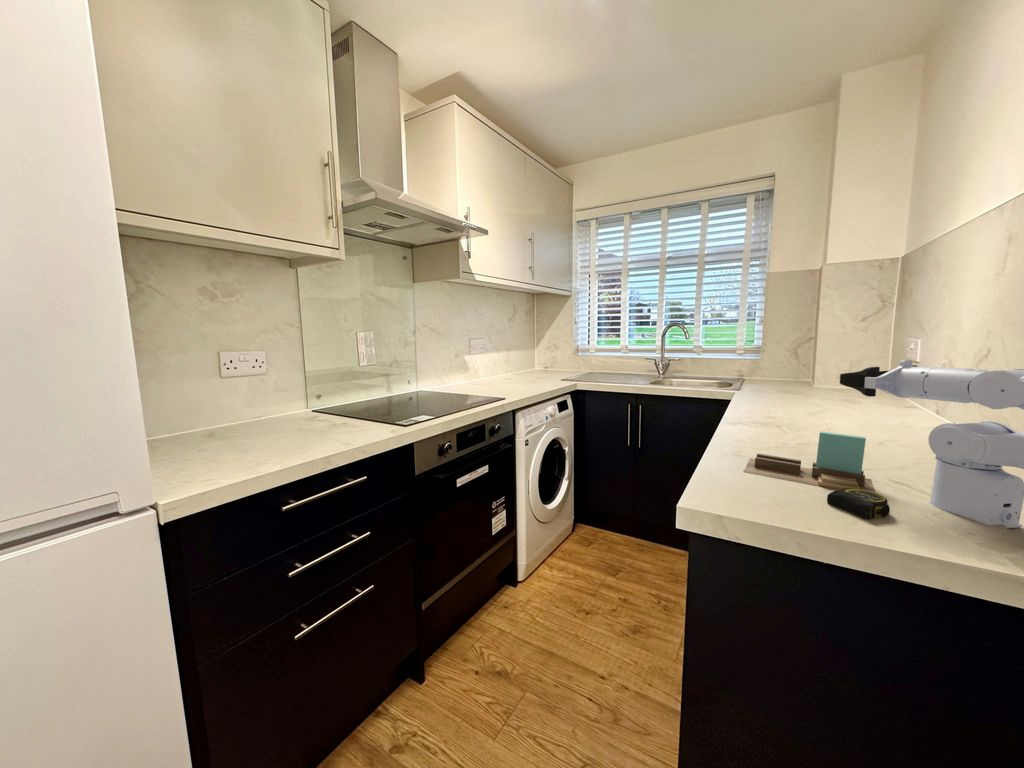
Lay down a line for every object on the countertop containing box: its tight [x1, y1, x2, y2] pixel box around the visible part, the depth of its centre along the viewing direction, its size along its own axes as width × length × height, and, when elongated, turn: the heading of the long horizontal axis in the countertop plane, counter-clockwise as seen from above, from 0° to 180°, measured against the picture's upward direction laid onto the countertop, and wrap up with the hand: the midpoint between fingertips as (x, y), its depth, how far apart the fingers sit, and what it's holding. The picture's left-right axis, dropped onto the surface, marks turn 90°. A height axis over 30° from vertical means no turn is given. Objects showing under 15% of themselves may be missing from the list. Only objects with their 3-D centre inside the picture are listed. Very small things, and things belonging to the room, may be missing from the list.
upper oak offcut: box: [820, 474, 858, 488], centre depth 77 cm, size 3×5×1 cm, turn 59°
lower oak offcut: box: [818, 477, 859, 490], centre depth 77 cm, size 3×6×1 cm, turn 54°
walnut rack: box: [743, 452, 877, 493], centre depth 83 cm, size 11×21×3 cm, turn 54°
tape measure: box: [826, 488, 891, 521], centre depth 68 cm, size 7×7×4 cm
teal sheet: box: [815, 430, 867, 474], centre depth 81 cm, size 2×7×9 cm, turn 54°
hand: (856, 378), depth 85 cm, fingers open, 7 cm apart
